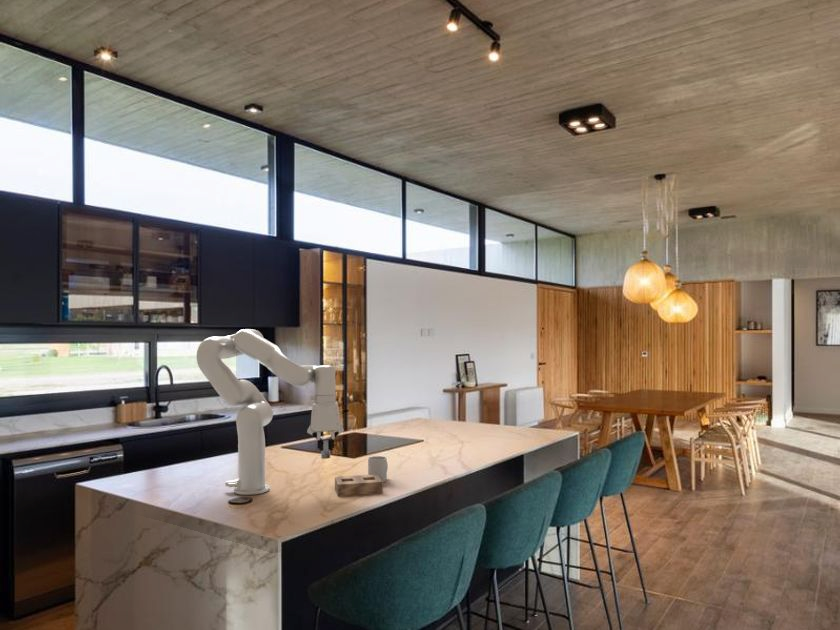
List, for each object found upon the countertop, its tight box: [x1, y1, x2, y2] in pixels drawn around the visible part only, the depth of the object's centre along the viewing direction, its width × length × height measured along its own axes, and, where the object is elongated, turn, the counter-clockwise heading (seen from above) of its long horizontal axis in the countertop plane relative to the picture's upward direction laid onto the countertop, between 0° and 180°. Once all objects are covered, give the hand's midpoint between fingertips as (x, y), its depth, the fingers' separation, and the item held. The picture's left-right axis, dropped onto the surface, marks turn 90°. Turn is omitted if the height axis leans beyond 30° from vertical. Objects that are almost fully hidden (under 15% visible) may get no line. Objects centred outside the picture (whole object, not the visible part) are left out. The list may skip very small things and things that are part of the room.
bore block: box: [334, 474, 384, 497], centre depth 225 cm, size 16×12×4 cm
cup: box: [367, 455, 388, 483], centre depth 240 cm, size 7×10×9 cm
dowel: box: [320, 437, 331, 460], centre depth 223 cm, size 3×3×7 cm
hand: (325, 449), depth 223 cm, fingers closed on dowel, 3 cm apart
